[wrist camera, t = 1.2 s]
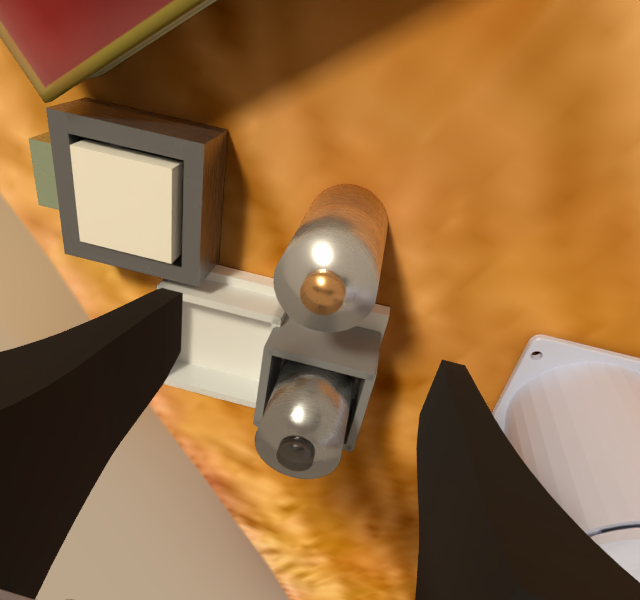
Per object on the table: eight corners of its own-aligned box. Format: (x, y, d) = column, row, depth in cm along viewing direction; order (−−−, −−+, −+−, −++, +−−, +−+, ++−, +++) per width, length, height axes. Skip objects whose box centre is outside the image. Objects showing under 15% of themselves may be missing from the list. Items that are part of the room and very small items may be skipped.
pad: (181, 254, 22) (171, 263, 21) (93, 232, 22) (79, 241, 21) (182, 162, 19) (171, 168, 19) (84, 139, 20) (69, 145, 19)
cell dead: (349, 393, 26) (330, 498, 20) (284, 376, 26) (247, 475, 20) (364, 340, 24) (347, 439, 18) (294, 322, 24) (255, 415, 18)
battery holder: (359, 409, 27) (350, 466, 24) (177, 361, 28) (142, 410, 24) (390, 307, 23) (384, 357, 20) (178, 255, 24) (138, 295, 21)
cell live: (377, 267, 22) (362, 350, 17) (302, 249, 23) (264, 326, 17) (397, 194, 21) (387, 261, 15) (315, 175, 21) (276, 235, 15)
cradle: (219, 261, 24) (198, 287, 22) (67, 224, 24) (32, 245, 22) (228, 129, 20) (204, 144, 18) (51, 89, 21) (7, 98, 19)
